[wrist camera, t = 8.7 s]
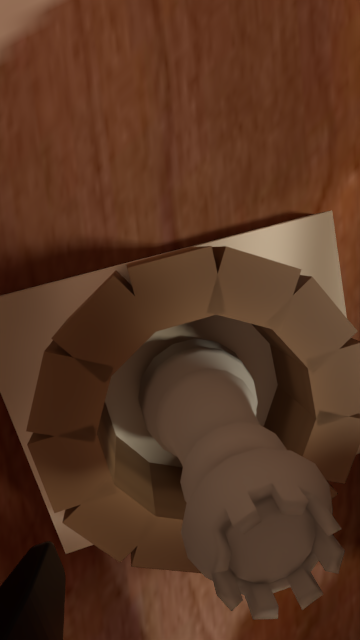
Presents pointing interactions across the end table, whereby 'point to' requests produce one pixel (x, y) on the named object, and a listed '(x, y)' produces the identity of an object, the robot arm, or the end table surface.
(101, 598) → the end table surface
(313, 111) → the end table surface
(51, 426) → the ring board
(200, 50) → the end table surface
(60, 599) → the robot arm
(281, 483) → the rook chess piece
